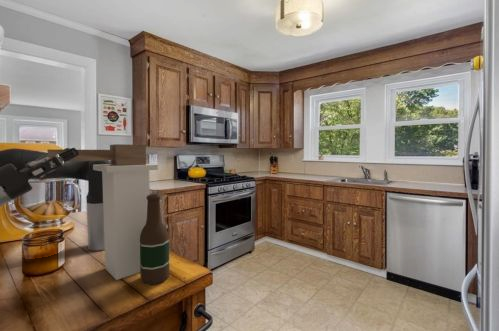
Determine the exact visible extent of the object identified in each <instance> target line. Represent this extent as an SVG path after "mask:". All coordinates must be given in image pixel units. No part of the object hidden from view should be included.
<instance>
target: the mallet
mask: <svg viewBox="0 0 499 331" xmlns="http://www.w3.org/2000/svg"><path fill="white" fill-rule="evenodd" d="M76 150H77V151H78V153H79V155H78V156H76V157H74V158H72V159H70V160H68V161H100V160H109V161H110V165H115V166H126V165H146V164H147V145H146V144H126V143H125V144H119V143H118V144H109V149H76ZM65 151H67V150H63V149H47V152H46V153H48V158H51V157H53V156H54V155H58V154H61V153H63V152H65Z"/></svg>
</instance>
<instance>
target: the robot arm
mask: <svg viewBox="0 0 499 331" xmlns="http://www.w3.org/2000/svg"><path fill="white" fill-rule="evenodd" d="M62 150H67V151H65V152H63V153H61V154H58V155H54V156H53V157H51V158H48V152H45V151H39V150H32V149H24V148H16V147H15V148H7V149H2V150H0V207H3V206H5V205H6V204H9V203H10V202H12V201H14V200H15V199H18V198H20V197H21V196H23V195H26V194H27V193H29V192H31V191H32V190H33V186H32V185H31V184H30V182H29V180H49V179H50V180H53V179H74V180H80V181H87V184H88V185H87V186H88V187H87V188H88V191H87V195H86V197H85V198H86V218H87V219H86V222H87V224H86V226H87V250H88V251H93V252H95V251H105V244H104V213H103V181H102V171H97V170H93V165H104V164H110V160H100V161H68V160H70V159H72V158H74V157H76V156H78V155H79V153H78V151H77V150H78V149H76V147H71V148H69V147H66V148H63V149H62Z"/></svg>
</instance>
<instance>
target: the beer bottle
mask: <svg viewBox="0 0 499 331" xmlns="http://www.w3.org/2000/svg"><path fill="white" fill-rule="evenodd" d="M161 198H162V197H161V195H160V194H159V193H150V195H147V198H146V199H147V200H148V203H147V220H146V224H145V226H144V227H143V229H142V231H141V234H140V272H139V273H140V279H141V282H142V284H143V285H147V286H155V285H158V284H162V283H164V282H166V280H168V279H169V277H170V237H169V232H168V230H167V227H166V226H165V225H164V223H163V219H162V213H161V202H160V200H161Z"/></svg>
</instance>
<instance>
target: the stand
mask: <svg viewBox="0 0 499 331" xmlns="http://www.w3.org/2000/svg"><path fill="white" fill-rule="evenodd" d="M158 167H159V165H158V164H154V163H153V164H152V163H151V164H150V163H146V165H126V166H115V165H110V164H104V165H93V170H97V171H102V181H103V213H104V244H105V250H104V266H105V268H104V269H105V270H106V271H107V272H108V273H109V274H110V275H111V276H112V277H113V278H114V279H115V280H116V281H117V280H120V279H124V278H126V277H131V276H133V275H136V274H138V273H140V234H141V231H142V229H143V227H144V226H145V224H146V220H147V203H148V200H147V199H146V198H147V195H150V194H151V192H150V171H156V170H157V171H158V170H159V168H158Z"/></svg>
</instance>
